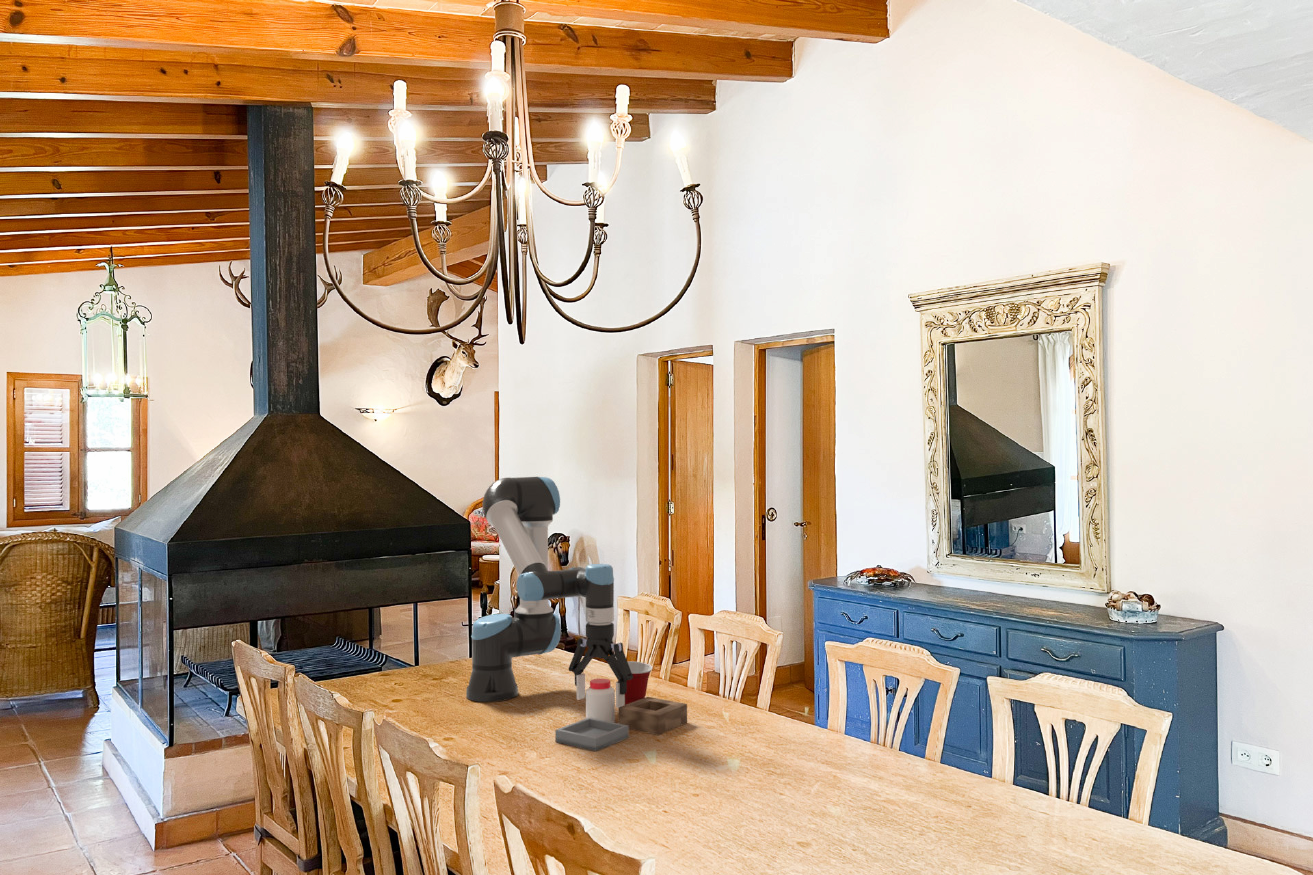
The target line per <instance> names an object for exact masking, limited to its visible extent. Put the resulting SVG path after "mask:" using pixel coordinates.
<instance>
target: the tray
mask: <svg viewBox="0 0 1313 875" xmlns="http://www.w3.org/2000/svg"><path fill="white" fill-rule="evenodd" d="M629 732H630V729H629V726H627V725H623V724H618V722H617V723H616V722H615V723H613V722H608V721H603V720H599V719H594V718H586V717H585V718H584V719H581V720H579V721H576V722H573V723H571V724H567V725H565V726H562V727H559V728H556V729H555V733H554V734H555V735H554V736H555V738H554V739H555V743H558V744H563V745H567V746H571V747H574V748H575V747H576V748H580V749H583V750H588V751H593V752H598V751H600V750H603V749H605V748H608V747H609V746H613V745H615V744H617V743H619V742H622V741H625V740H626V739H629V737H630V736H629Z"/></svg>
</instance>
